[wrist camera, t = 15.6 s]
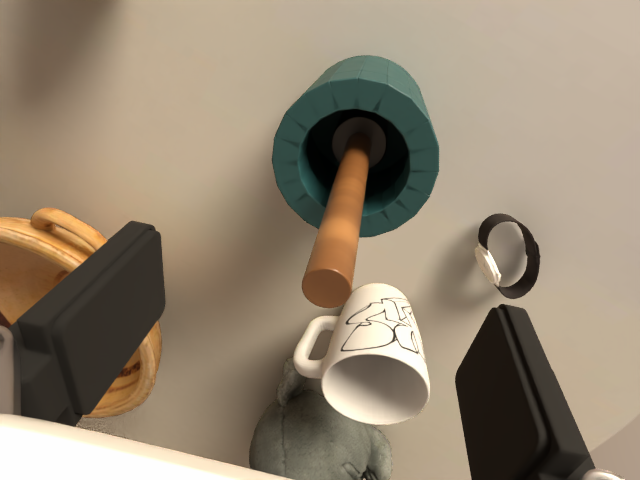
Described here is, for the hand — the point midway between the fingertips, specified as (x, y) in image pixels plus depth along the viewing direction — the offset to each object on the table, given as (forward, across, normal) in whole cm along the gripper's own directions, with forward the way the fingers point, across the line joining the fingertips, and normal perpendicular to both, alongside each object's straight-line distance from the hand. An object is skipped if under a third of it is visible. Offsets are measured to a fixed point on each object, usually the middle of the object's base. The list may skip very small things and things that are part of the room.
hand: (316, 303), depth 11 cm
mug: (+22, -4, +19) cm, 29 cm away
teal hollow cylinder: (+22, 0, +1) cm, 22 cm away
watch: (+22, -14, +9) cm, 28 cm away
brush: (+21, 0, +1) cm, 21 cm away
